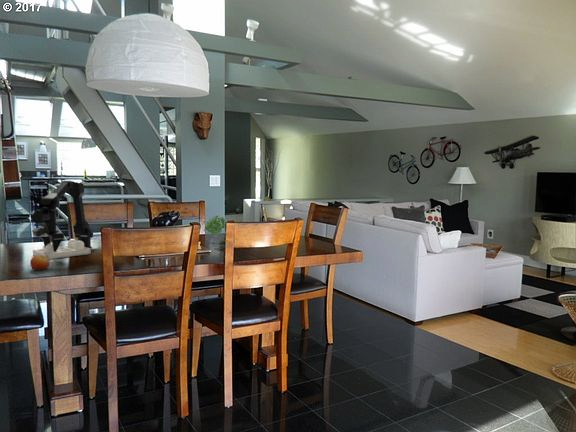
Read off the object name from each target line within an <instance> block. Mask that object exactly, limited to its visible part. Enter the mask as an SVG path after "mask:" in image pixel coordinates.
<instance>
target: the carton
mask: <svg viewBox="0 0 576 432" xmlns="http://www.w3.org/2000/svg"><path fill="white" fill-rule="evenodd" d="M77 240H78V239H74V238H71V239H69V240H68V241H67V245H66V246H59V247H58V249H57V251H56V252H55V253H46V252H45V248H38V249H32V256H33V257H34V256H35V255H43V256H45V257H47V259H48V260H55V259H62V258H68V257H69V258H71V257H76V256H84V255H85V256H86V255H91V253H92V249H91V248H92V247H91V248H87V247H84V243H83V241H80V240H78V241H77Z"/></svg>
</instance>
